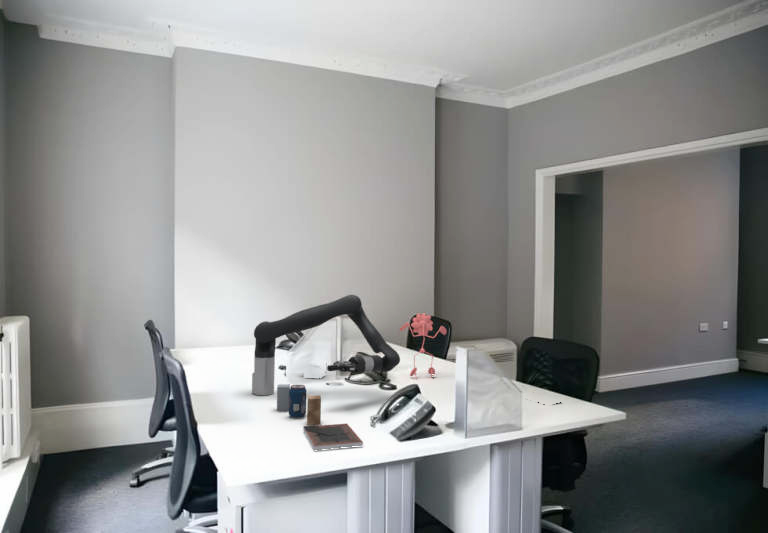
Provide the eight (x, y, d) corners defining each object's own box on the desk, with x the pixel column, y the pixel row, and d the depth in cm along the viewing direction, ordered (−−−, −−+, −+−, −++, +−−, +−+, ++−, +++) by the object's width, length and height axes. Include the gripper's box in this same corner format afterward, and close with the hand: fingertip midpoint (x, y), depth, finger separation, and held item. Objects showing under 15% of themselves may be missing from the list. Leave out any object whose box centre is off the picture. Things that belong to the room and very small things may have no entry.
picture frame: (303, 432, 198) (314, 453, 177) (303, 426, 198) (314, 445, 177) (347, 429, 203) (362, 448, 182) (347, 422, 203) (363, 441, 182)
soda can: (290, 413, 220) (290, 384, 220) (307, 413, 220) (307, 384, 220) (287, 418, 213) (287, 388, 213) (304, 418, 213) (305, 388, 213)
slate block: (276, 411, 222) (277, 387, 222) (277, 408, 227) (277, 384, 227) (289, 411, 223) (289, 387, 223) (289, 408, 228) (289, 384, 228)
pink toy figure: (448, 379, 291) (448, 314, 291) (401, 380, 286) (402, 314, 286) (439, 373, 306) (440, 311, 306) (394, 375, 301) (395, 312, 301)
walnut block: (307, 425, 205) (307, 398, 205) (307, 421, 210) (307, 395, 210) (320, 424, 206) (321, 398, 206) (320, 421, 211) (320, 395, 210)
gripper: (352, 353, 242) (319, 356, 231) (370, 358, 232) (337, 362, 221) (351, 370, 242) (319, 374, 231) (370, 376, 232) (337, 380, 221)
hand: (328, 368), depth 226 cm, fingers closed
